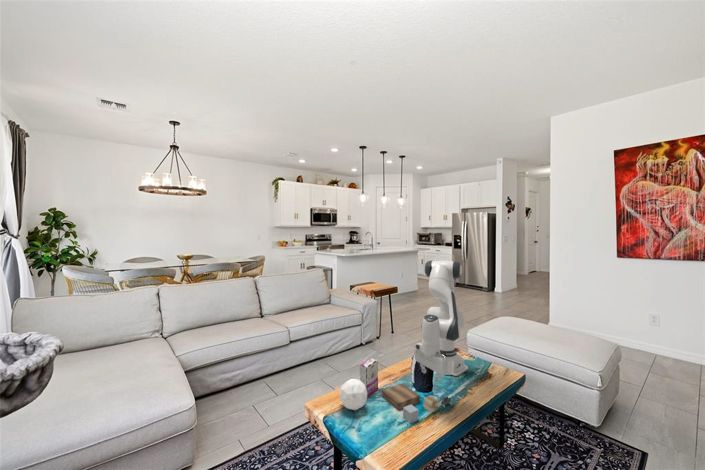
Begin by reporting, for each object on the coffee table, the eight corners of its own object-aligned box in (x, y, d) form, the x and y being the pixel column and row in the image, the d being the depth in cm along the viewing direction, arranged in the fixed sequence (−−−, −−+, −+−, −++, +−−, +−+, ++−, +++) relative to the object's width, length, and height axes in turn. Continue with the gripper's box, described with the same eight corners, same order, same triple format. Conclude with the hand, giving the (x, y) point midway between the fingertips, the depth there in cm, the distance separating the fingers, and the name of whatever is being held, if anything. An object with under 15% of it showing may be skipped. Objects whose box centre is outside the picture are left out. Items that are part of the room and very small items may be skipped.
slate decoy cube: (411, 414, 145) (411, 404, 145) (418, 420, 140) (418, 409, 140) (403, 417, 142) (403, 407, 142) (410, 423, 138) (410, 412, 138)
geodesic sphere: (371, 416, 143) (371, 386, 143) (342, 420, 141) (341, 390, 141) (364, 399, 158) (364, 372, 158) (337, 402, 156) (337, 374, 155)
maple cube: (431, 404, 153) (431, 395, 152) (438, 409, 148) (438, 399, 148) (423, 407, 150) (423, 398, 150) (430, 413, 146) (430, 402, 146)
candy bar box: (370, 385, 171) (370, 357, 171) (378, 388, 168) (378, 359, 168) (359, 394, 162) (359, 364, 162) (367, 397, 159) (366, 367, 159)
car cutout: (445, 411, 148) (445, 402, 148) (436, 404, 154) (436, 395, 154) (467, 403, 155) (467, 394, 155) (457, 396, 161) (457, 388, 161)
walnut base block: (402, 390, 167) (402, 383, 167) (419, 403, 155) (419, 395, 155) (381, 397, 160) (381, 390, 160) (398, 411, 148) (398, 403, 148)
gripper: (451, 355, 141) (451, 384, 141) (421, 341, 159) (421, 367, 159) (442, 357, 138) (441, 387, 138) (412, 343, 156) (412, 369, 156)
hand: (430, 376), depth 149 cm, fingers open, 8 cm apart
